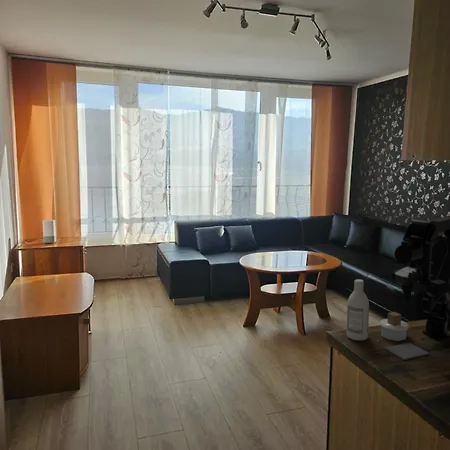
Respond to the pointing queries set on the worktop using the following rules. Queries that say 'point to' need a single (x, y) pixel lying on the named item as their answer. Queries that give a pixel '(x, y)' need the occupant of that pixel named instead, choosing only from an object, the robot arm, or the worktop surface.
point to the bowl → (393, 334)
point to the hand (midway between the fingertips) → (418, 306)
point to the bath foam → (358, 313)
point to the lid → (394, 322)
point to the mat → (406, 351)
